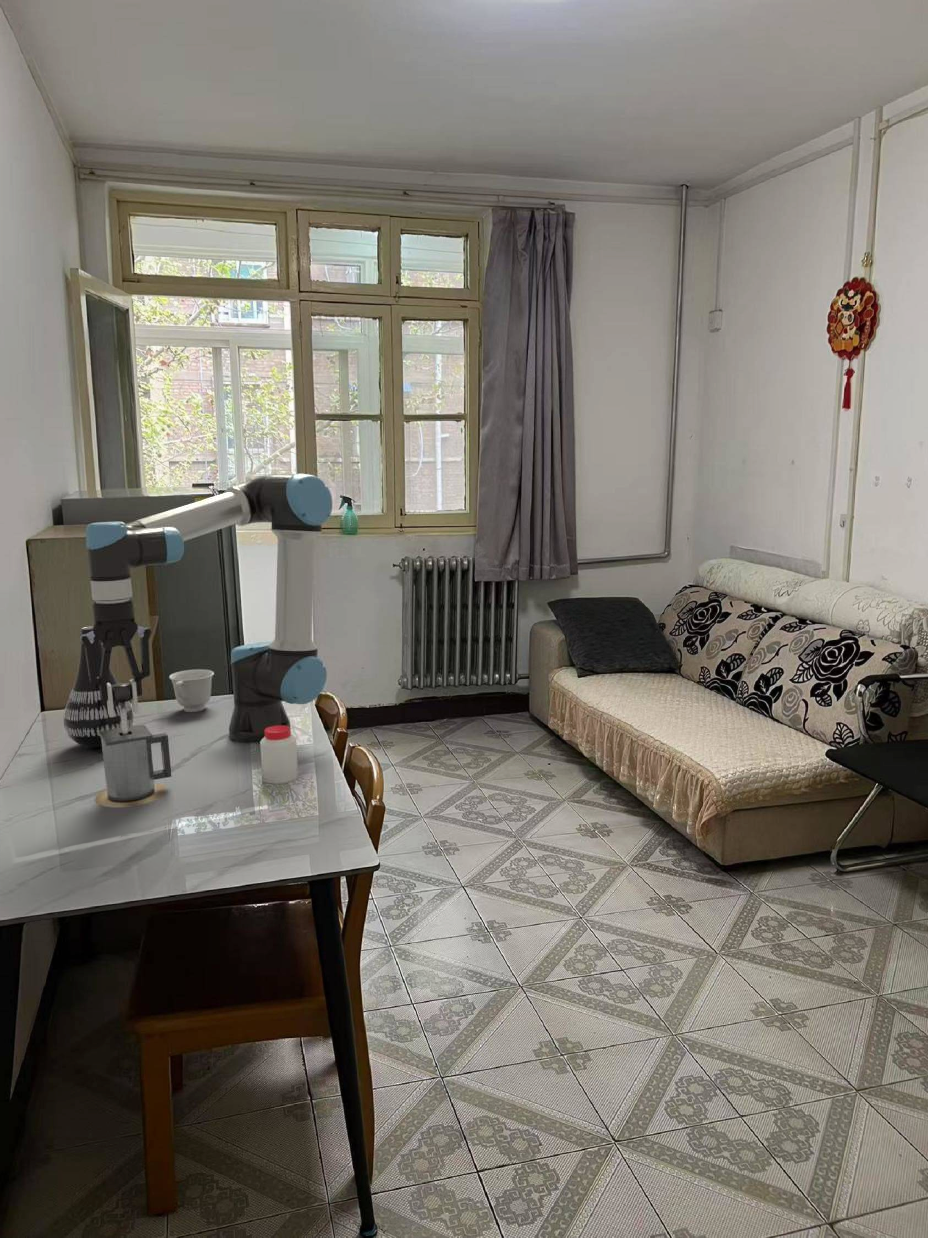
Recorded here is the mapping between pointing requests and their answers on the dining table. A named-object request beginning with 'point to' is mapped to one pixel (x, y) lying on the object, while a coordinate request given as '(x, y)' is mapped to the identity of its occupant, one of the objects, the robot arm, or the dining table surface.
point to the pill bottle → (279, 755)
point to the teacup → (192, 688)
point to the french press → (132, 763)
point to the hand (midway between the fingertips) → (123, 713)
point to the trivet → (104, 801)
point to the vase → (91, 703)
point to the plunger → (122, 702)
